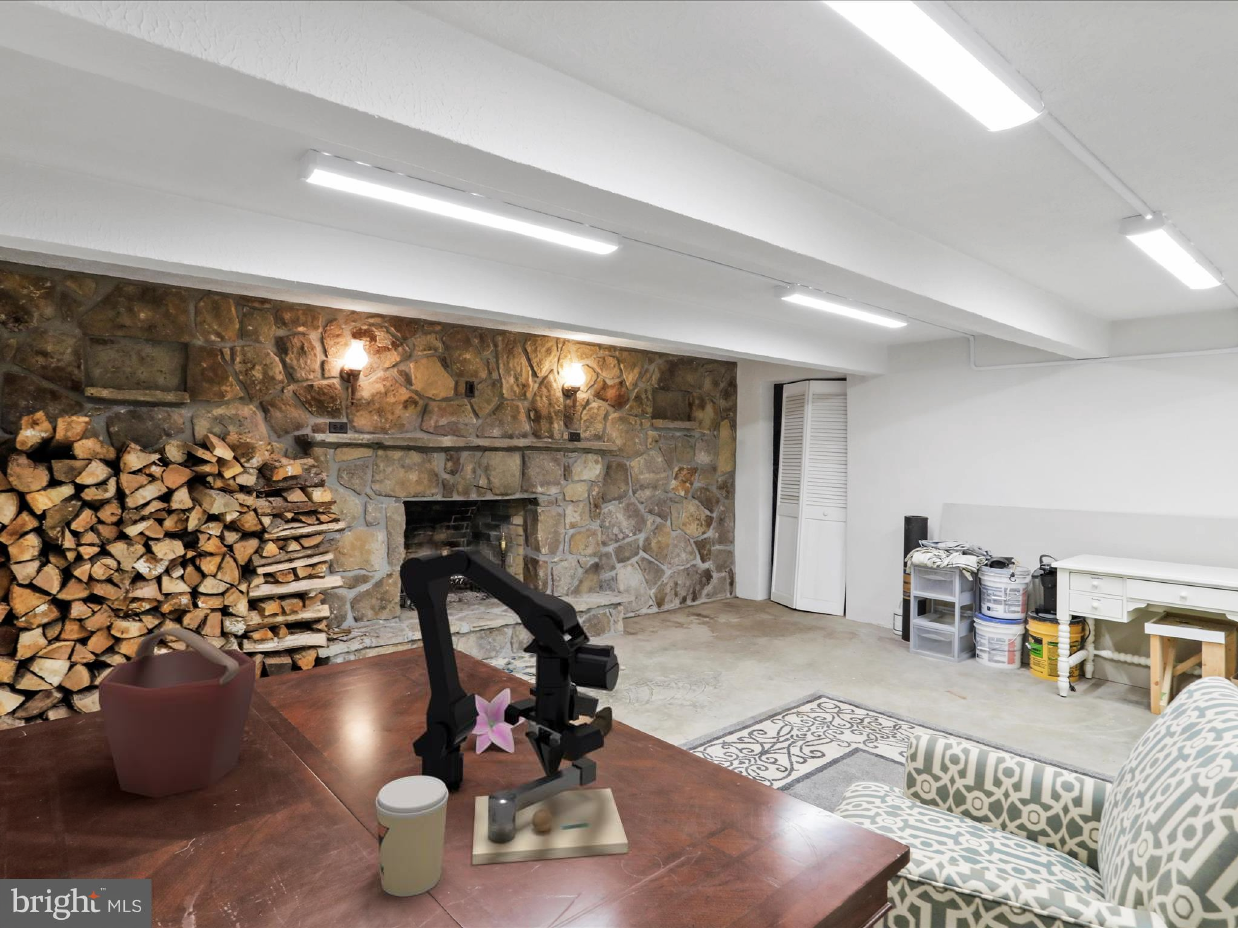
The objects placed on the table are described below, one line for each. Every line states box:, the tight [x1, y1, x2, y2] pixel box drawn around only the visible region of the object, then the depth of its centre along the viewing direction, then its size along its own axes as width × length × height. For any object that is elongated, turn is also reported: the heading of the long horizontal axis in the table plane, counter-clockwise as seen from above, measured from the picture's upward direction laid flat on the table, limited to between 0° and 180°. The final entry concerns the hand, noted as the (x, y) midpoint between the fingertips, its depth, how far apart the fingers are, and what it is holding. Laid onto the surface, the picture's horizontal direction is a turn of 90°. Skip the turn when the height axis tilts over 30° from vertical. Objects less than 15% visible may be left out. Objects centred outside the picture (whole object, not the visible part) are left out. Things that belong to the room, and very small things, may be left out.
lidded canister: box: [375, 775, 449, 897], centre depth 95 cm, size 9×9×12 cm
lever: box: [488, 756, 597, 843], centre depth 109 cm, size 20×4×6 cm, turn 135°
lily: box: [470, 688, 526, 755], centre depth 138 cm, size 12×12×10 cm
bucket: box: [98, 627, 257, 799], centre depth 122 cm, size 24×22×25 cm
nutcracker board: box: [471, 788, 629, 866], centre depth 108 cm, size 22×16×4 cm
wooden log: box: [562, 706, 613, 762], centre depth 140 cm, size 19×4×5 cm, turn 154°
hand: (551, 777), depth 114 cm, fingers closed
